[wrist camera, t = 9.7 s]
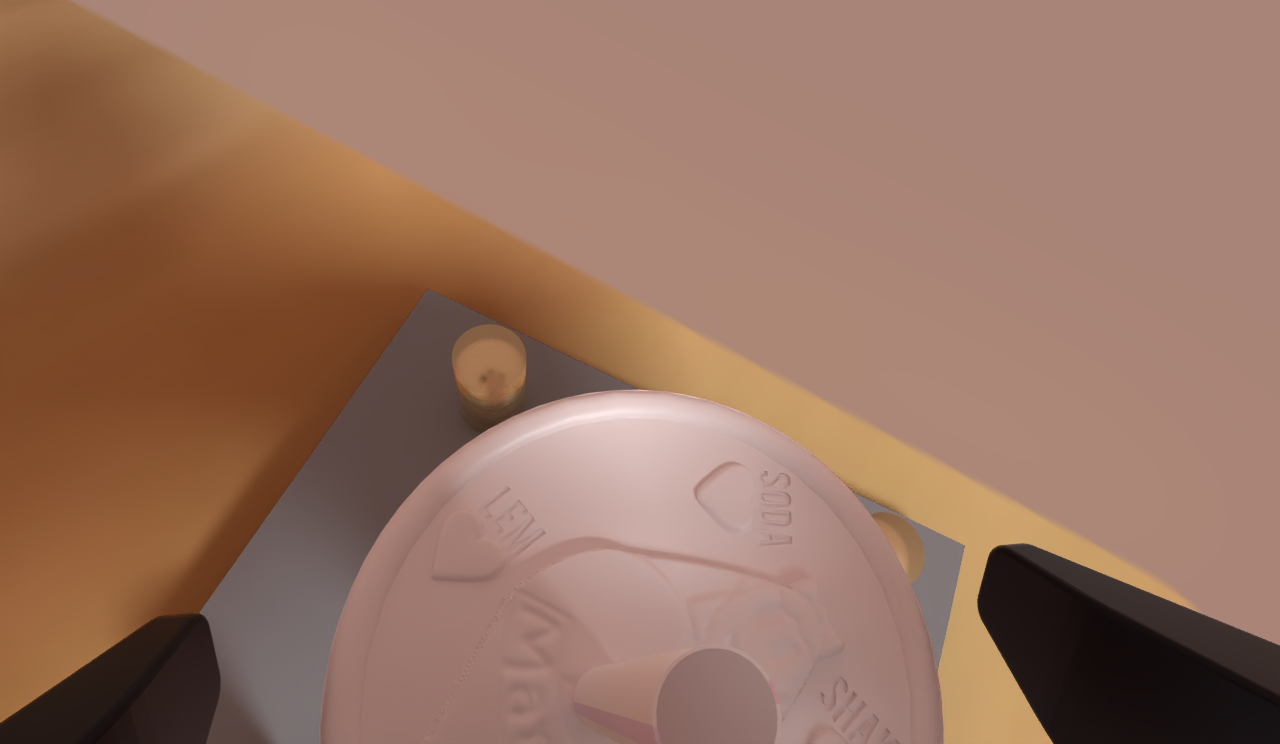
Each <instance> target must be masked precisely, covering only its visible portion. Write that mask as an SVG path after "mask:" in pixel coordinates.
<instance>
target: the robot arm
mask: <svg viewBox="0 0 1280 744" xmlns="http://www.w3.org/2000/svg"><path fill="white" fill-rule="evenodd" d="M977 605H978V611H979V614H980V617H981V620H982V622H983V623H984V625H985V627H986V629H987V630H988V632H989V634H990V636H991V637H992V639H993V641H994V643H995V644H996V646H997V648H998V650H999V651H1000V653H1001V655H1002V657H1003V658H1004V660H1005V662H1006V664H1007V666H1008V667H1009V669H1010V671H1011V673H1012V674H1013V676H1014V678H1015V680H1016V681H1017V683H1018V685H1019V687H1020V688H1021V690H1022V692H1023V694H1024V695H1025V697H1026V699H1027V701H1028V702H1029V704H1030V706H1031V708H1032V709H1033V711H1034V713H1035V715H1036V716H1037V718H1038V720H1039V721H1040V723H1041V725H1042V726H1043V728H1044V730H1045V731H1046V733H1047V735H1048V736H1049V738H1050V739H1051V741H1052V742H1053V744H1280V645H1277V644H1275V643H1272V642H1270V641H1267V640H1265V639H1262V638H1260V637H1257V636H1255V635H1253V634H1250V633H1248V632H1245V631H1243V630H1240V629H1237V628H1235V627H1233V626H1230V625H1228V624H1225V623H1223V622H1220V621H1218V620H1215V619H1213V618H1211V617H1208V616H1206V615H1203V614H1201V613H1198V612H1196V611H1193V610H1191V609H1188V608H1186V607H1183V606H1181V605H1178V604H1176V603H1174V602H1171V601H1169V600H1166V599H1164V598H1161V597H1159V596H1156V595H1154V594H1151V593H1149V592H1146V591H1144V590H1141V589H1139V588H1136V587H1134V586H1132V585H1129V584H1127V583H1124V582H1122V581H1119V580H1117V579H1114V578H1112V577H1109V576H1107V575H1104V574H1102V573H1099V572H1097V571H1095V570H1092V569H1090V568H1087V567H1085V566H1082V565H1080V564H1077V563H1075V562H1072V561H1070V560H1067V559H1065V558H1062V557H1060V556H1057V555H1055V554H1053V553H1050V552H1048V551H1045V550H1043V549H1040V548H1038V547H1035V546H1033V545H1030V544H1024V543H1022V544H1009V545H1000V546H997V547H995V548H994V549H993V550H992V551H991V552H990V554H989V557H988V560H987V564H986V568H985V572H984V575H983V579H982V583H981V587H980V591H979V594H978V599H977ZM220 690H221V676H220V670H219V666H218V661H217V657H216V652H215V648H214V643H213V639H212V634H211V630H210V625H209V622H208V620H207V619H206V617H205V616H204V615H202V614H200V613H187V614H175V615H164V616H159V617H156V618H154V619H153V620H151V621H149V622H148V623H146V624H145V625H143V626H142V627H141V628H139V629H138V630H136V631H135V632H133V633H132V634H130V635H129V636H127V637H126V638H124V639H123V640H121V641H120V642H119V643H117V644H116V645H114V646H113V647H111V648H110V649H108V650H107V651H105V652H104V653H102V654H101V655H99V656H98V657H97V658H95V659H94V660H92V661H91V662H89V663H88V664H86V665H85V666H83V667H82V668H80V669H79V670H77V671H76V672H75V673H73V674H72V675H70V676H69V677H67V678H66V679H64V680H63V681H61V682H60V683H58V684H57V685H55V686H54V687H52V688H51V689H50V690H48V691H47V692H45V693H44V694H42V695H41V696H39V697H38V698H36V699H35V700H33V701H32V702H30V703H29V704H28V705H26V706H25V707H23V708H22V709H20V710H19V711H17V712H16V713H14V714H13V715H11V716H10V717H8V718H7V719H6V720H4V721H3V722H1V723H0V744H206V743H207V739H208V736H209V732H210V729H211V725H212V722H213V719H214V715H215V712H216V708H217V705H218V701H219V697H220Z"/></svg>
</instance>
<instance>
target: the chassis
mask: <svg viewBox="0 0 1280 744" xmlns="http://www.w3.org/2000/svg"><path fill="white" fill-rule="evenodd" d="M612 390H639V389H637V388H635V387H633V386H630V385H628V384H626V383H624V382H622V381H620V380H618V379H616V378H614V377H612V376H610V375H608V374H605V373H603V372H601V371H599V370H597V369H595V368H593V367H591V366H589V365H587V364H585V363H582V362H580V361H578V360H576V359H574V358H572V357H570V356H568V355H566V354H564V353H562V352H560V351H557V350H555V349H553V348H551V347H549V346H547V345H545V344H543V343H541V342H539V341H537V340H534V339H532V338H530V337H528V336H526V335H524V334H522V333H520V332H518V331H516V330H514V329H512V328H509V327H507V326H505V325H503V324H501V323H499V322H497V321H495V320H493V319H491V318H489V317H486V316H484V315H482V314H480V313H478V312H476V311H474V310H472V309H470V308H468V307H466V306H463V305H461V304H459V303H457V302H455V301H453V300H451V299H449V298H447V297H445V296H443V295H441V294H438V293H436V292H434V291H432V290H430V289H427V291H426V292H425V293H424V295H423V296H422V298H421V299H420V300H419V302H418V303H417V305H416V306H415V308H414V309H413V310H412V312H411V313H410V315H409V316H408V317H407V319H406V320H405V322H404V323H403V325H402V326H401V327H400V329H399V330H398V332H397V333H396V334H395V336H394V337H393V339H392V340H391V342H390V343H389V344H388V346H387V347H386V349H385V350H384V352H383V353H382V354H381V356H380V357H379V359H378V360H377V361H376V363H375V364H374V366H373V367H372V369H371V370H370V371H369V373H368V374H367V376H366V377H365V378H364V380H363V381H362V383H361V384H360V386H359V387H358V388H357V390H356V391H355V393H354V394H353V395H352V397H351V398H350V400H349V401H348V403H347V404H346V405H345V407H344V408H343V410H342V411H341V412H340V414H339V415H338V417H337V418H336V420H335V421H334V422H333V424H332V425H331V427H330V428H329V429H328V431H327V432H326V434H325V435H324V437H323V438H322V439H321V441H320V442H319V444H318V445H317V446H316V448H315V449H314V451H313V452H312V454H311V455H310V456H309V458H308V459H307V461H306V462H305V463H304V465H303V466H302V468H301V469H300V471H299V472H298V473H297V475H296V476H295V478H294V479H293V481H292V482H291V483H290V485H289V486H288V488H287V489H286V490H285V492H284V493H283V495H282V496H281V498H280V499H279V500H278V502H277V503H276V505H275V506H274V507H273V509H272V510H271V512H270V513H269V515H268V516H267V517H266V519H265V520H264V522H263V523H262V524H261V526H260V527H259V529H258V530H257V532H256V533H255V534H254V536H253V537H252V539H251V540H250V541H249V543H248V544H247V546H246V547H245V549H244V550H243V551H242V553H241V554H240V556H239V557H238V558H237V560H236V561H235V563H234V564H233V566H232V567H231V568H230V570H229V571H228V573H227V574H226V575H225V577H224V578H223V580H222V581H221V583H220V584H219V585H218V587H217V588H216V590H215V591H214V592H213V594H212V595H211V597H210V598H209V600H208V601H207V602H206V604H205V605H204V607H203V608H202V609H201V611H200V612H199V613H200V614H202V615H204V616H205V617H206V619H207V620H208V622H209V625H210V630H211V634H212V639H213V643H214V648H215V652H216V657H217V661H218V666H219V670H220V676H221V690H220V697H219V701H218V705H217V708H216V712H215V715H214V719H213V722H212V725H211V729H210V732H209V736H208V739H207V743H206V744H320V716H321V705H322V693H323V686H324V681H325V675H326V669H327V664H328V658H329V654H330V650H331V646H332V643H333V639H334V635H335V632H336V628H337V625H338V621H339V618H340V616H341V613H342V610H343V608H344V605H345V602H346V600H347V597H348V594H349V592H350V589H351V587H352V585H353V583H354V581H355V579H356V577H357V575H358V573H359V571H360V568H361V566H362V564H363V562H364V560H365V558H366V557H367V555H368V553H369V552H370V550H371V548H372V547H373V545H374V543H375V542H376V540H377V538H378V537H379V535H380V533H381V532H382V530H383V529H384V528H385V526H386V525H387V523H388V522H389V521H390V519H391V518H392V517H393V515H394V514H395V512H396V511H397V510H398V508H399V507H400V506H401V505H402V503H403V502H404V501H405V500H406V499H407V498H408V497H409V495H410V494H411V493H412V492H413V491H414V490H415V489H416V488H417V486H418V485H419V484H420V483H421V482H422V481H423V480H424V479H425V478H426V477H427V476H428V475H429V474H430V473H432V472H433V471H434V470H435V469H436V468H437V467H438V466H439V465H440V464H441V463H442V462H443V461H445V460H446V459H447V458H448V457H450V456H451V455H452V454H454V453H455V452H456V451H457V450H459V449H460V448H461V447H462V446H464V445H465V444H467V443H468V442H470V441H471V440H473V439H474V438H476V437H477V436H479V435H480V434H482V433H484V432H485V431H487V430H488V429H490V428H492V427H494V426H496V425H498V424H500V423H501V422H503V421H505V420H507V419H509V418H511V417H513V416H515V415H518V414H520V413H523V412H525V411H527V410H530V409H532V408H535V407H537V406H540V405H543V404H547V403H550V402H553V401H557V400H560V399H563V398H568V397H573V396H577V395H582V394H587V393H594V392H603V391H612ZM853 494H854V495H855V496H856V497H857V498H858V499H859V501H860V502H861V503H862V504H863V505H864V506H865V508H866V509H867V511H868V512H869V513H870V515H871V516H872V517H873V519H874V520H875V521H876V523H877V524H878V525H879V527H880V528H881V530H882V531H883V533H884V535H885V536H886V538H887V540H888V541H889V543H890V544H891V546H892V548H893V549H894V551H895V553H896V555H897V557H898V559H899V560H900V562H901V564H902V566H903V568H904V570H905V572H906V574H907V576H908V578H909V581H910V583H911V585H912V588H913V590H914V593H915V595H916V597H917V600H918V602H919V605H920V608H921V611H922V614H923V617H924V620H925V623H926V626H927V629H928V632H929V636H930V640H931V644H932V648H933V653H934V657H935V661H936V666H937V671H938V667H939V662H940V658H941V653H942V648H943V644H944V639H945V635H946V630H947V625H948V621H949V616H950V611H951V607H952V602H953V598H954V593H955V588H956V584H957V579H958V575H959V570H960V565H961V561H962V556H963V552H964V547H965V546H964V545H962V544H960V543H958V542H956V541H954V540H952V539H950V538H948V537H946V536H944V535H942V534H939V533H937V532H935V531H933V530H931V529H929V528H927V527H925V526H923V525H921V524H919V523H916V522H914V521H912V520H910V519H908V518H906V517H904V516H902V515H900V514H898V513H896V512H894V511H891V510H889V509H887V508H885V507H883V506H881V505H879V504H877V503H875V502H873V501H871V500H868V499H866V498H864V497H862V496H860V495H858V494H856V493H854V492H853Z"/></svg>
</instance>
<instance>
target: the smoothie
mask: <svg viewBox="0 0 1280 744" xmlns="http://www.w3.org/2000/svg"><path fill="white" fill-rule="evenodd" d="M320 744H943V716H942V701H941V692H940V685H939V679H938V672H937V666H936V661H935V657H934V653H933V648H932V644H931V640H930V636H929V632H928V629H927V626H926V623H925V620H924V617H923V614H922V611H921V608H920V605H919V602H918V600H917V597H916V595H915V593H914V590H913V588H912V585H911V583H910V581H909V578H908V576H907V574H906V572H905V570H904V568H903V566H902V564H901V562H900V560H899V559H898V557H897V555H896V553H895V551H894V549H893V548H892V546H891V544H890V543H889V541H888V540H887V538H886V536H885V535H884V533H883V531H882V530H881V528H880V527H879V525H878V524H877V523H876V521H875V520H874V519H873V517H872V516H871V515H870V513H869V512H868V511H867V509H866V508H865V506H864V505H863V504H862V503H861V502H860V501H859V499H858V498H857V497H856V496H855V495H854V494H853V492H852V491H851V490H850V489H849V488H848V487H847V486H846V484H845V483H843V482H842V481H841V480H840V479H839V478H838V477H837V476H836V475H835V474H834V473H833V472H832V471H831V470H830V469H829V468H828V467H827V466H826V465H825V464H824V463H822V462H821V461H820V460H819V459H817V458H816V457H815V456H814V455H813V454H811V453H810V452H809V451H808V450H807V449H805V448H804V447H802V446H801V445H799V444H798V443H797V442H795V441H794V440H792V439H791V438H789V437H788V436H786V435H785V434H783V433H782V432H780V431H778V430H776V429H775V428H773V427H771V426H769V425H768V424H766V423H764V422H762V421H760V420H758V419H756V418H754V417H751V416H749V415H747V414H745V413H743V412H741V411H738V410H736V409H733V408H730V407H727V406H724V405H722V404H719V403H716V402H712V401H709V400H705V399H701V398H697V397H693V396H689V395H683V394H677V393H671V392H664V391H650V390H612V391H603V392H594V393H587V394H582V395H577V396H573V397H568V398H563V399H560V400H557V401H553V402H550V403H547V404H543V405H540V406H537V407H535V408H532V409H530V410H527V411H525V412H523V413H520V414H518V415H515V416H513V417H511V418H509V419H507V420H505V421H503V422H501V423H500V424H498V425H496V426H494V427H492V428H490V429H488V430H487V431H485V432H484V433H482V434H480V435H479V436H477V437H476V438H474V439H473V440H471V441H470V442H468V443H467V444H465V445H464V446H462V447H461V448H460V449H459V450H457V451H456V452H455V453H454V454H452V455H451V456H450V457H448V458H447V459H446V460H445V461H443V462H442V463H441V464H440V465H439V466H438V467H437V468H436V469H435V470H434V471H433V472H432V473H430V474H429V475H428V476H427V477H426V478H425V479H424V480H423V481H422V482H421V483H420V484H419V485H418V486H417V488H416V489H415V490H414V491H413V492H412V493H411V494H410V495H409V497H408V498H407V499H406V500H405V501H404V502H403V503H402V505H401V506H400V507H399V508H398V510H397V511H396V512H395V514H394V515H393V517H392V518H391V519H390V521H389V522H388V523H387V525H386V526H385V528H384V529H383V530H382V532H381V533H380V535H379V537H378V538H377V540H376V542H375V543H374V545H373V547H372V548H371V550H370V552H369V553H368V555H367V557H366V558H365V560H364V562H363V564H362V566H361V568H360V571H359V573H358V575H357V577H356V579H355V581H354V583H353V585H352V587H351V589H350V592H349V594H348V597H347V600H346V602H345V605H344V608H343V610H342V613H341V616H340V618H339V621H338V625H337V628H336V632H335V635H334V639H333V643H332V646H331V650H330V654H329V658H328V664H327V669H326V675H325V681H324V686H323V693H322V705H321V716H320Z"/></svg>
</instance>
